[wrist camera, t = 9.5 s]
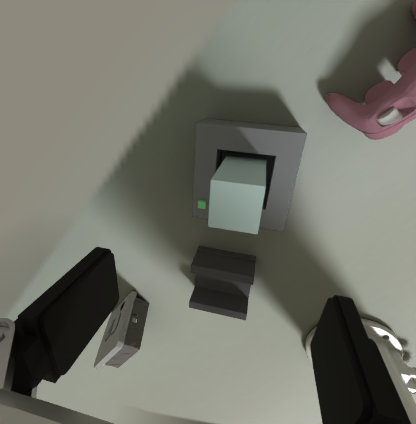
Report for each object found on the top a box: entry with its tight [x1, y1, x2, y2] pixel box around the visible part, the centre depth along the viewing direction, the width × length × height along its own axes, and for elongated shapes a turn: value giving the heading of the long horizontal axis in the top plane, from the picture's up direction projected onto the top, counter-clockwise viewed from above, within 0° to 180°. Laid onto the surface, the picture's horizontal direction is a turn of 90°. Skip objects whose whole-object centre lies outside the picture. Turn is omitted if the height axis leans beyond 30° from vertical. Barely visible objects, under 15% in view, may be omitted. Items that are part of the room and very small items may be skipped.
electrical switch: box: [94, 291, 149, 370], centre depth 40 cm, size 9×5×9 cm, turn 142°
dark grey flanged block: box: [189, 246, 256, 320], centre depth 34 cm, size 8×8×4 cm
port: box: [192, 119, 307, 232], centre depth 26 cm, size 10×10×5 cm
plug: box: [208, 151, 267, 234], centre depth 23 cm, size 4×4×10 cm
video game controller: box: [326, 0, 416, 140], centre depth 20 cm, size 10×5×7 cm, turn 142°
